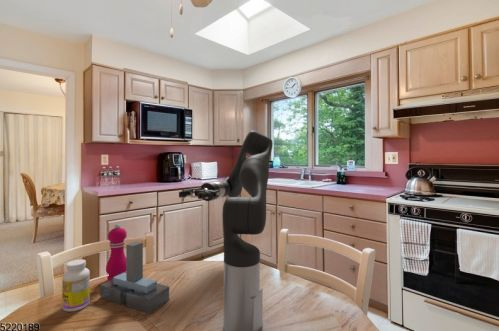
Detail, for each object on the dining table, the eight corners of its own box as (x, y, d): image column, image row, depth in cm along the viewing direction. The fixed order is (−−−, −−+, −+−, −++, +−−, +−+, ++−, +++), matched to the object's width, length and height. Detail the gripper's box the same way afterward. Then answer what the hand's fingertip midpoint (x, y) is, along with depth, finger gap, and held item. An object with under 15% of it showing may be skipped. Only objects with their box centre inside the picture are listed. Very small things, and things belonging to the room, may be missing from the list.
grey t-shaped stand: (156, 298, 79) (156, 244, 79) (146, 305, 75) (146, 248, 75) (124, 289, 85) (124, 238, 84) (113, 294, 81) (113, 242, 81)
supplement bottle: (61, 305, 76) (61, 261, 76) (87, 297, 80) (87, 256, 80) (63, 315, 71) (63, 268, 71) (91, 307, 75) (91, 262, 75)
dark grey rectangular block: (169, 299, 79) (169, 286, 79) (149, 313, 72) (149, 299, 72) (122, 286, 87) (122, 274, 87) (100, 297, 80) (100, 284, 80)
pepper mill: (119, 285, 88) (119, 226, 88) (100, 283, 90) (100, 225, 90) (132, 276, 95) (132, 221, 95) (115, 274, 97) (115, 220, 97)
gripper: (198, 181, 112) (173, 184, 97) (227, 182, 106) (205, 185, 92) (198, 198, 112) (173, 204, 97) (227, 200, 106) (205, 207, 92)
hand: (189, 195), depth 94 cm, fingers open, 8 cm apart
